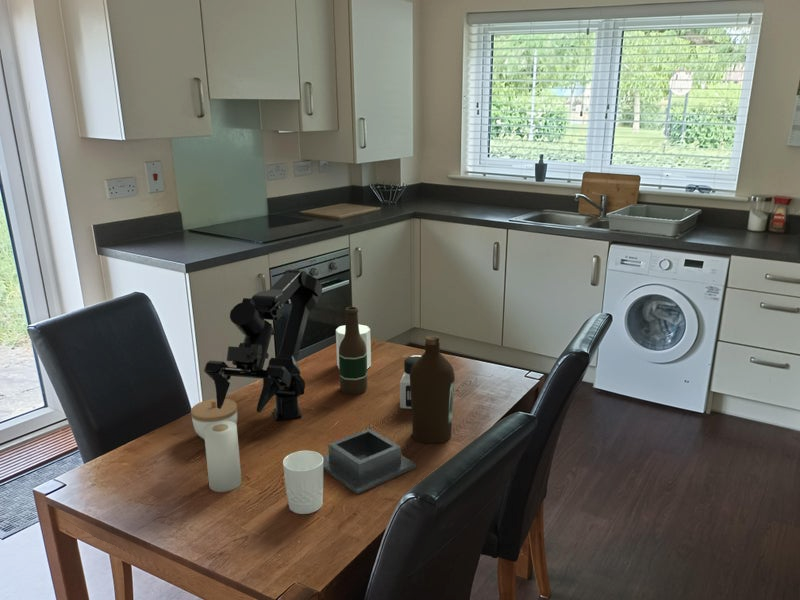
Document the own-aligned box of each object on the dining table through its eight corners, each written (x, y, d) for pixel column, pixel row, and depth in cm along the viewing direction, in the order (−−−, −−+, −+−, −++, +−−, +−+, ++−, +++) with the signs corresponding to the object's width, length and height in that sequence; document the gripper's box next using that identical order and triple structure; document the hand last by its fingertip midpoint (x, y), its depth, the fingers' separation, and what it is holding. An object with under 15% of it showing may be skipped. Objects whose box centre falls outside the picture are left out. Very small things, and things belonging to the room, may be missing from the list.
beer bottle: (373, 387, 188) (371, 306, 181) (357, 397, 181) (354, 314, 175) (351, 381, 192) (348, 302, 185) (334, 391, 186) (331, 309, 179)
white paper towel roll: (208, 477, 143) (203, 422, 139) (240, 472, 144) (235, 418, 141) (209, 494, 137) (204, 437, 133) (242, 488, 138) (237, 432, 135)
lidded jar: (185, 437, 160) (181, 402, 158) (223, 422, 168) (220, 388, 165) (209, 452, 153) (205, 415, 151) (248, 436, 161) (245, 400, 158)
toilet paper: (340, 359, 209) (339, 323, 205) (373, 360, 208) (372, 324, 204) (334, 372, 199) (332, 334, 196) (368, 373, 198) (367, 335, 195)
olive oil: (411, 445, 155) (410, 345, 148) (409, 425, 166) (408, 330, 159) (456, 444, 156) (457, 344, 149) (451, 424, 166) (452, 329, 159)
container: (428, 410, 173) (428, 364, 170) (399, 408, 175) (399, 362, 171) (433, 398, 181) (433, 353, 177) (405, 396, 182) (405, 352, 178)
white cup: (308, 521, 128) (305, 475, 125) (277, 508, 132) (274, 463, 129) (333, 501, 134) (331, 456, 131) (303, 489, 138) (300, 446, 135)
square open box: (314, 463, 148) (313, 443, 147) (371, 440, 158) (371, 421, 156) (357, 494, 136) (356, 472, 135) (415, 467, 146) (415, 447, 145)
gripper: (203, 326, 146) (182, 393, 139) (283, 332, 142) (266, 401, 135) (223, 347, 155) (204, 411, 148) (298, 353, 152) (283, 418, 144)
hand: (238, 410), depth 144 cm, fingers open, 9 cm apart
